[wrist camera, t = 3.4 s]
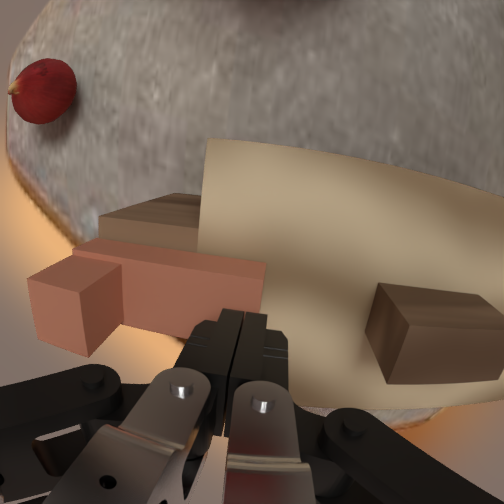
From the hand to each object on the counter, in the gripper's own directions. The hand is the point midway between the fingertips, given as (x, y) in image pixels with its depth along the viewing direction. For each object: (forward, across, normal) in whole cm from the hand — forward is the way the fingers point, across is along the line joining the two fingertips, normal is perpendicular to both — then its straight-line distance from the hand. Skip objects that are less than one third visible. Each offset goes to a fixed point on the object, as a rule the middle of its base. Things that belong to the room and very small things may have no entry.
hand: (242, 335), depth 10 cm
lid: (+6, -8, 0) cm, 10 cm away
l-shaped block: (+3, +4, 0) cm, 5 cm away
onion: (+15, +20, -11) cm, 27 cm away
